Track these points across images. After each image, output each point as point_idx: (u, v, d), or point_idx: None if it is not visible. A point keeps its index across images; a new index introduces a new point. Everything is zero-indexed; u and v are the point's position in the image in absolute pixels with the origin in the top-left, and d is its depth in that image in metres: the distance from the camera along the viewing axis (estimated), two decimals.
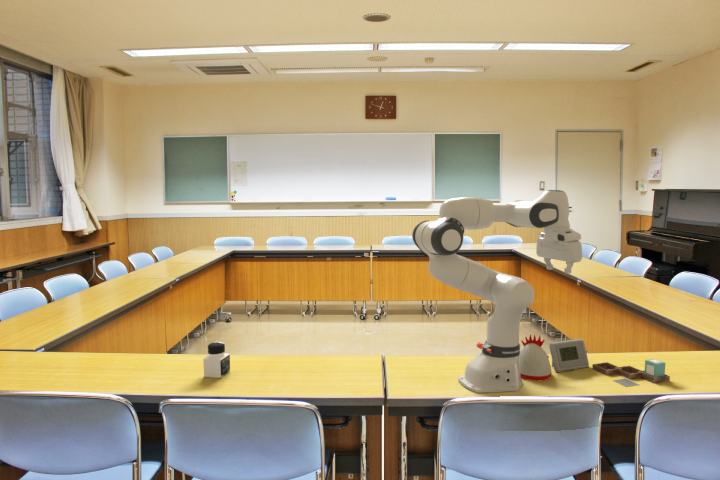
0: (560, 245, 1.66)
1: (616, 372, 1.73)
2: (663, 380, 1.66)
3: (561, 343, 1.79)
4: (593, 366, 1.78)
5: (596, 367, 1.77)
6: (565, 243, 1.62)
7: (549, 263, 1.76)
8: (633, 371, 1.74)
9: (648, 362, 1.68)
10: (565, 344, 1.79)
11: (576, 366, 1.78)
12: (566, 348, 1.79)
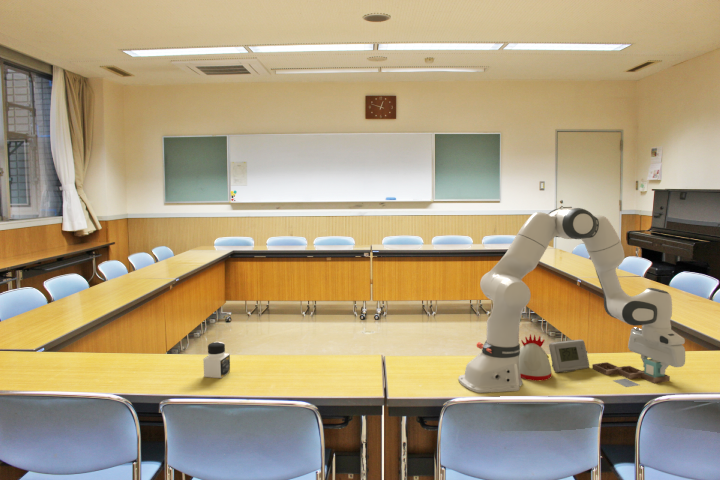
0: (661, 346, 1.63)
1: (616, 372, 1.73)
2: (663, 380, 1.66)
3: (561, 343, 1.78)
4: (593, 366, 1.78)
5: (596, 367, 1.77)
6: (668, 346, 1.60)
7: None
8: (633, 371, 1.74)
9: (647, 362, 1.68)
10: (565, 344, 1.79)
11: (576, 367, 1.77)
12: (566, 348, 1.78)
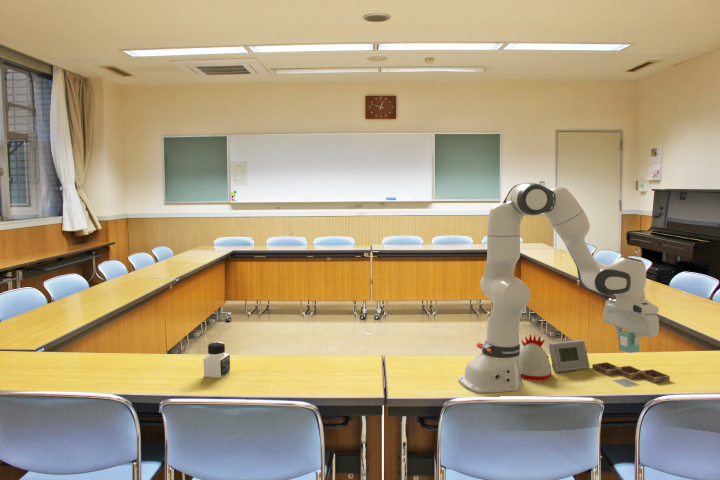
0: (634, 316, 1.59)
1: (616, 372, 1.73)
2: (663, 380, 1.66)
3: (561, 344, 1.78)
4: (593, 366, 1.78)
5: (596, 367, 1.77)
6: (641, 315, 1.55)
7: None
8: (633, 371, 1.74)
9: (621, 333, 1.64)
10: (565, 345, 1.78)
11: (576, 367, 1.77)
12: (566, 349, 1.78)
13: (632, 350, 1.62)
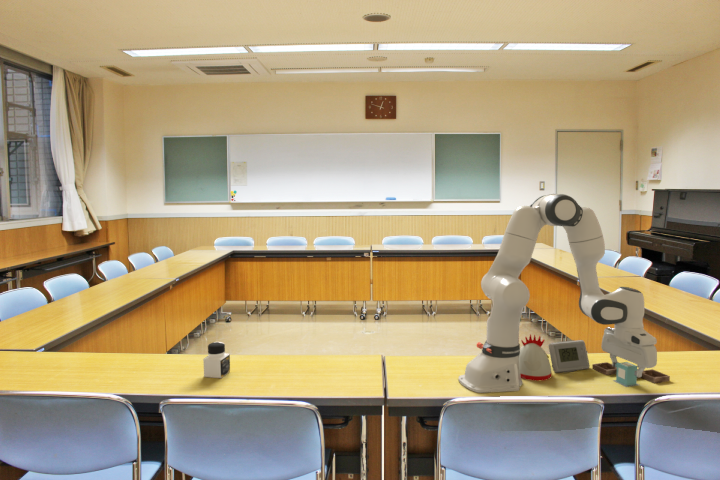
0: (632, 347, 1.60)
1: (616, 372, 1.73)
2: (663, 380, 1.66)
3: (561, 344, 1.78)
4: (593, 366, 1.78)
5: (596, 367, 1.77)
6: (640, 346, 1.56)
7: (615, 360, 1.70)
8: None
9: (620, 365, 1.65)
10: (565, 345, 1.78)
11: (576, 367, 1.77)
12: (566, 349, 1.78)
13: (629, 382, 1.63)
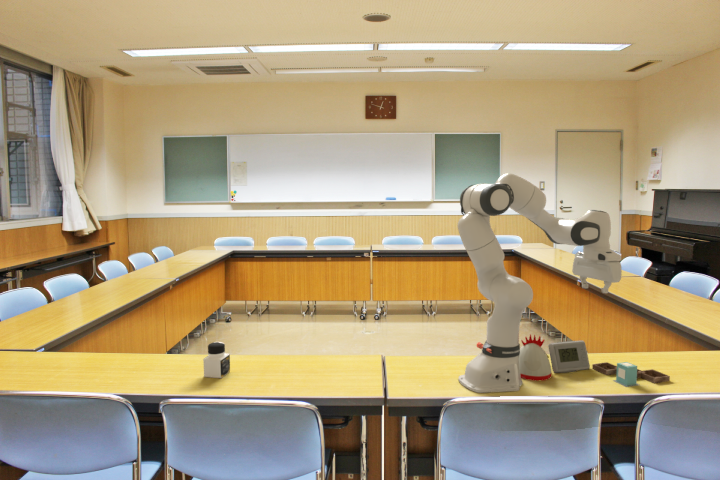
0: (599, 264, 1.69)
1: (616, 372, 1.73)
2: (663, 380, 1.66)
3: (560, 344, 1.78)
4: (593, 366, 1.78)
5: (596, 367, 1.77)
6: (605, 263, 1.66)
7: (585, 282, 1.79)
8: None
9: (620, 365, 1.65)
10: (565, 345, 1.78)
11: (576, 368, 1.76)
12: (566, 349, 1.78)
13: (629, 382, 1.63)
